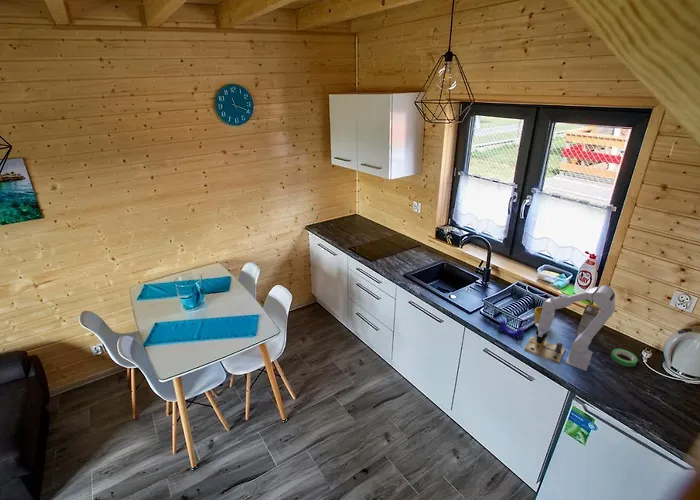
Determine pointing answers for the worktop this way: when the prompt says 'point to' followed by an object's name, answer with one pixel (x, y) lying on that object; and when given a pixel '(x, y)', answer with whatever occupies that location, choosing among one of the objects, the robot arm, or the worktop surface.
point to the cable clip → (507, 330)
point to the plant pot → (538, 314)
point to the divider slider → (539, 343)
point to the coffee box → (587, 318)
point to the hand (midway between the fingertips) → (540, 341)
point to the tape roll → (621, 361)
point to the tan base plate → (546, 350)
